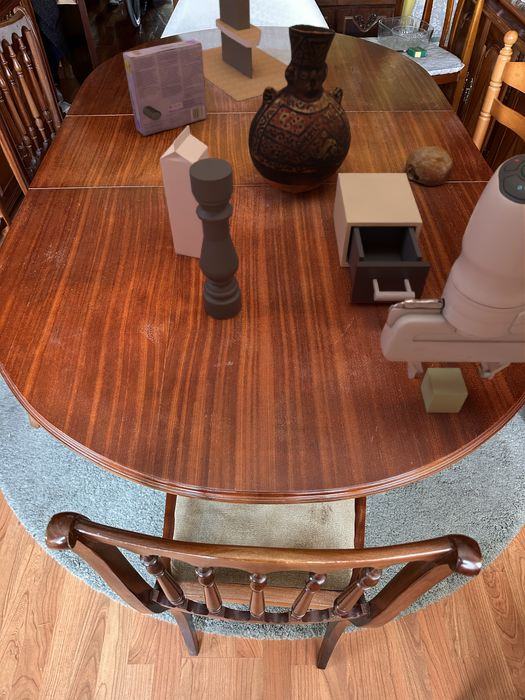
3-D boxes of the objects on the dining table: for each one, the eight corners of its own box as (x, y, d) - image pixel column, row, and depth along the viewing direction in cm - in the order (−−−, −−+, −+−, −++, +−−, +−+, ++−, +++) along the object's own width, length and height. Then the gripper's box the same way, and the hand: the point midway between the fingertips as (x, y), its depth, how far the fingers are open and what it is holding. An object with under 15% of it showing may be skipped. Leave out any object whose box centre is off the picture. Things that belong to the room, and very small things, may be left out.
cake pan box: (203, 110, 133) (196, 35, 120) (212, 118, 130) (206, 41, 117) (135, 130, 126) (120, 52, 113) (143, 138, 124) (129, 59, 110)
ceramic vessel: (256, 211, 103) (253, 49, 80) (243, 167, 114) (237, 14, 92) (355, 201, 105) (380, 40, 83) (333, 159, 117) (350, 7, 94)
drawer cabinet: (410, 267, 92) (422, 222, 84) (340, 267, 92) (347, 222, 84) (395, 216, 102) (405, 172, 94) (333, 216, 102) (338, 172, 95)
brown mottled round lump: (397, 185, 116) (393, 160, 109) (425, 152, 117) (424, 126, 110) (433, 202, 111) (432, 178, 104) (463, 169, 112) (464, 142, 105)
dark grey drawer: (424, 321, 81) (436, 284, 76) (353, 321, 81) (360, 284, 76) (403, 248, 94) (413, 212, 88) (342, 248, 94) (347, 212, 88)
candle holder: (238, 291, 87) (231, 154, 69) (244, 317, 83) (237, 179, 65) (202, 296, 87) (185, 159, 68) (206, 321, 83) (188, 183, 64)
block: (451, 387, 74) (460, 367, 71) (458, 412, 71) (468, 394, 68) (420, 387, 74) (427, 367, 71) (426, 412, 71) (434, 393, 68)
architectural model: (313, 80, 145) (319, -1, 130) (237, 101, 137) (234, 17, 122) (245, 40, 167) (243, -33, 152) (176, 56, 158) (166, -20, 143)
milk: (175, 254, 94) (154, 139, 78) (187, 235, 98) (170, 121, 81) (205, 259, 93) (191, 145, 76) (217, 240, 97) (206, 126, 80)
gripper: (396, 319, 56) (374, 393, 66) (582, 320, 56) (531, 395, 66) (387, 281, 60) (368, 356, 70) (560, 282, 60) (515, 357, 70)
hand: (448, 375), depth 68 cm, fingers open, 8 cm apart
